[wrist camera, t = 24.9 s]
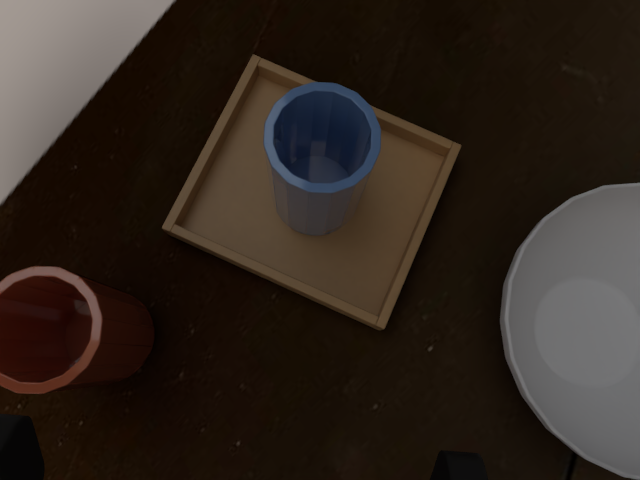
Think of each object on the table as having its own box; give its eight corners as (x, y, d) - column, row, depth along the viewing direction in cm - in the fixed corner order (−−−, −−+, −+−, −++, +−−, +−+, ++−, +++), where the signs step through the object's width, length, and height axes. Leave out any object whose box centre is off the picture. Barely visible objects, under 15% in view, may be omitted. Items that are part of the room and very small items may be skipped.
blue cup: (257, 213, 37) (243, 162, 27) (294, 138, 38) (293, 64, 29) (337, 250, 37) (352, 211, 27) (372, 173, 38) (398, 110, 28)
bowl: (504, 487, 35) (556, 519, 28) (438, 239, 38) (469, 213, 31) (740, 426, 36) (845, 442, 29) (657, 192, 39) (735, 157, 32)
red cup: (44, 359, 35) (-53, 360, 25) (89, 275, 36) (14, 246, 27) (127, 398, 35) (62, 415, 25) (170, 313, 36) (124, 296, 26)
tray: (168, 234, 37) (161, 227, 35) (255, 68, 40) (253, 53, 38) (379, 330, 36) (384, 329, 35) (453, 155, 39) (461, 144, 37)
